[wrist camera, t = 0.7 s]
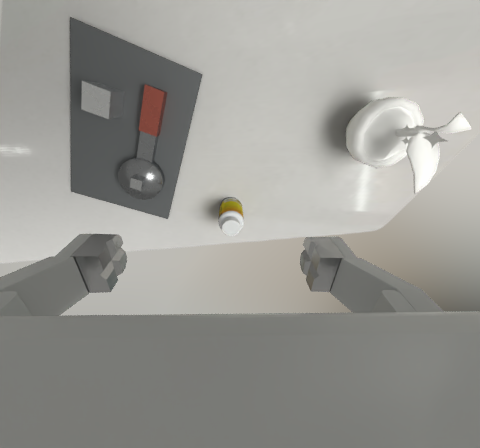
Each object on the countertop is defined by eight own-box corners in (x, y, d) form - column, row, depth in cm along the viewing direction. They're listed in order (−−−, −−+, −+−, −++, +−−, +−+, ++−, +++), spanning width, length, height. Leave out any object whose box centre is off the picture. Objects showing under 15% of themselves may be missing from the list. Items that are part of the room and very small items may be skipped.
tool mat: (72, 18, 36) (70, 16, 36) (202, 74, 41) (201, 74, 40) (72, 190, 51) (71, 191, 50) (168, 217, 55) (167, 218, 55)
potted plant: (342, 94, 43) (454, 92, 22) (397, 99, 44) (558, 102, 23) (325, 159, 50) (398, 207, 28) (374, 162, 50) (482, 211, 29)
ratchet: (133, 78, 40) (121, 76, 36) (182, 98, 42) (176, 98, 38) (121, 188, 50) (111, 196, 46) (160, 200, 52) (154, 209, 48)
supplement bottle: (218, 197, 53) (216, 217, 44) (241, 196, 53) (244, 216, 44) (220, 217, 56) (219, 240, 47) (242, 216, 56) (244, 238, 47)
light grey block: (99, 82, 40) (81, 80, 35) (124, 92, 41) (110, 91, 36) (98, 108, 42) (81, 109, 37) (121, 116, 43) (108, 119, 38)
